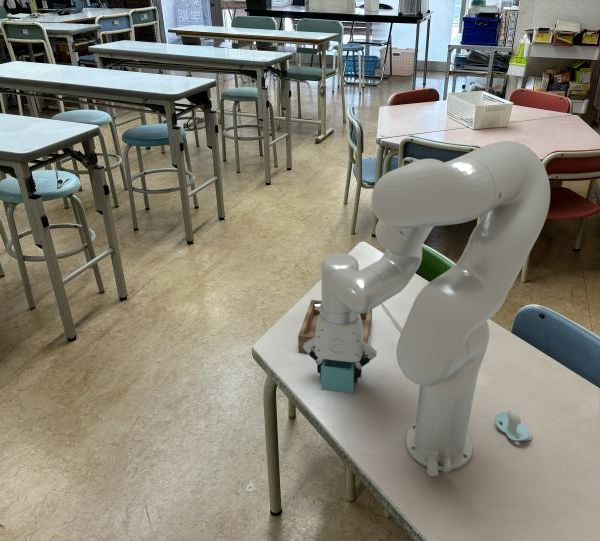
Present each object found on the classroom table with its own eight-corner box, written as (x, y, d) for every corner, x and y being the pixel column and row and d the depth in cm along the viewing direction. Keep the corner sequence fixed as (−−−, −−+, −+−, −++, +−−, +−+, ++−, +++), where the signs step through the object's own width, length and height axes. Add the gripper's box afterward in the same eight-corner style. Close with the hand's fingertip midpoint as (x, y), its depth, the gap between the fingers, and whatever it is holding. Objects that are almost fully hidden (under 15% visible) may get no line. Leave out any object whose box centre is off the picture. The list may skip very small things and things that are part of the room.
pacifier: (511, 415, 113) (489, 425, 111) (517, 392, 110) (495, 401, 108) (539, 439, 107) (516, 450, 105) (546, 416, 104) (523, 426, 102)
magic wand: (371, 293, 157) (374, 288, 157) (408, 342, 136) (412, 337, 135) (366, 290, 156) (370, 286, 156) (402, 340, 135) (407, 334, 134)
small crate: (352, 392, 119) (353, 371, 116) (321, 389, 121) (320, 367, 118) (356, 372, 125) (357, 351, 122) (326, 368, 127) (326, 348, 124)
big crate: (364, 360, 129) (365, 343, 127) (298, 352, 132) (298, 335, 130) (371, 321, 143) (372, 305, 140) (311, 315, 146) (311, 299, 143)
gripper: (295, 317, 112) (298, 383, 121) (380, 325, 109) (376, 393, 118) (302, 297, 119) (305, 362, 127) (383, 305, 115) (379, 370, 124)
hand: (339, 376), depth 122 cm, fingers closed on small crate, 7 cm apart
